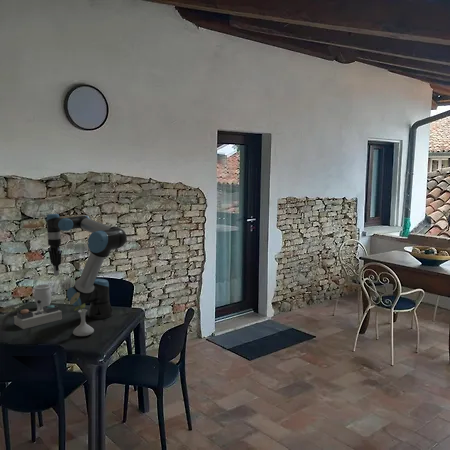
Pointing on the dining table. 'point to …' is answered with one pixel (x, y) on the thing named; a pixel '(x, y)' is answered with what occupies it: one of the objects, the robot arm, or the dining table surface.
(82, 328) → the flower in vase
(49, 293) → the jar
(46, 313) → the console
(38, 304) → the toggle lever
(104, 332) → the dining table surface
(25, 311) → the terracotta button
